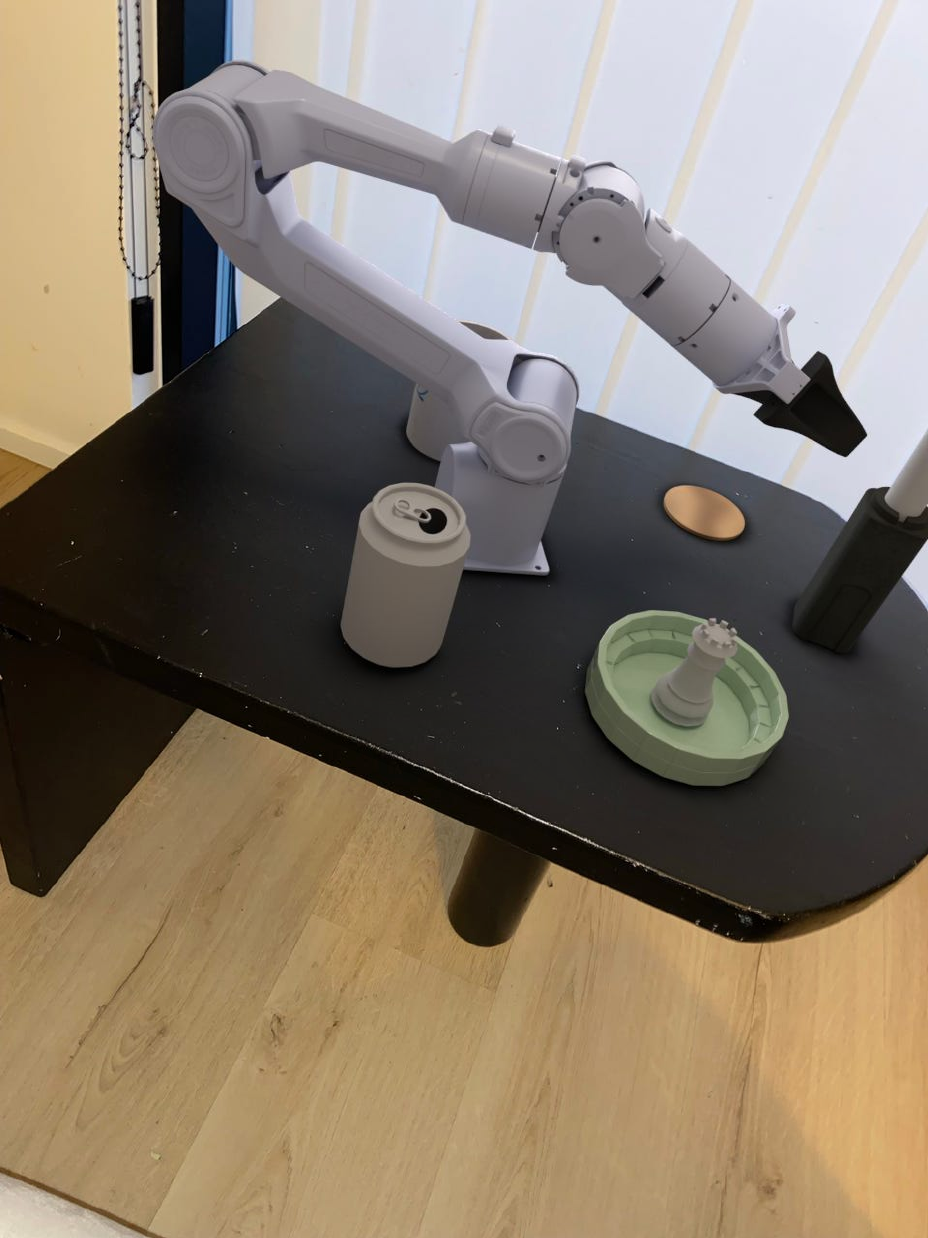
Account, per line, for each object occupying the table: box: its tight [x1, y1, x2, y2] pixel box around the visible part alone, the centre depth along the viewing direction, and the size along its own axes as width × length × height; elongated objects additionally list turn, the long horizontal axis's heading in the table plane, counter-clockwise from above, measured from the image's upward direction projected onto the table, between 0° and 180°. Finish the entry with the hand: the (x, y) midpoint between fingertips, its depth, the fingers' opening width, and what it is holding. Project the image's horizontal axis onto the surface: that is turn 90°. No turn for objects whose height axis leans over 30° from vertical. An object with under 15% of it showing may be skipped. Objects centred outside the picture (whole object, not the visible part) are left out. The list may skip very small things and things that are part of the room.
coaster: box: [663, 484, 746, 542], centre depth 90 cm, size 8×8×1 cm
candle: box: [791, 429, 928, 654], centre depth 73 cm, size 5×5×25 cm
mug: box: [406, 318, 516, 462], centre depth 88 cm, size 12×9×10 cm
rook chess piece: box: [651, 617, 739, 727], centre depth 67 cm, size 4×4×8 cm
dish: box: [584, 609, 790, 787], centre depth 69 cm, size 14×14×4 cm
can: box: [340, 482, 470, 668], centre depth 65 cm, size 8×8×12 cm
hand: (833, 430), depth 68 cm, fingers open, 7 cm apart
